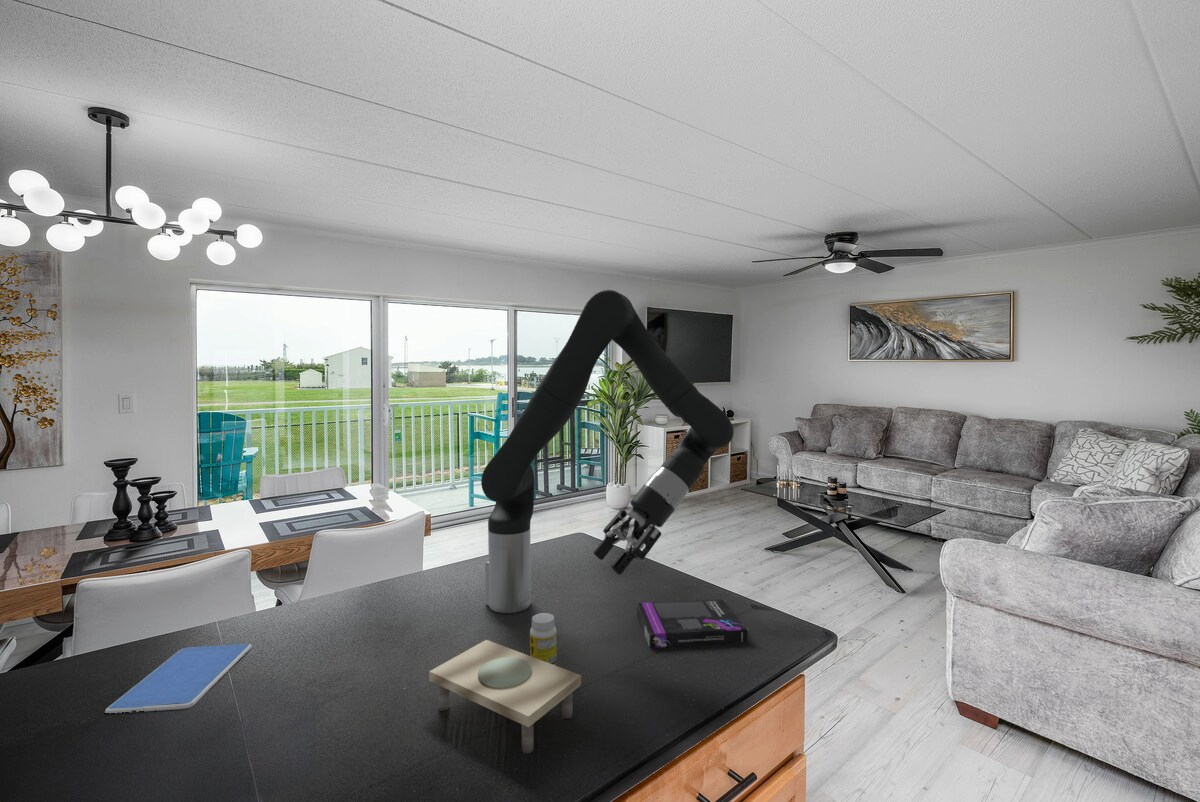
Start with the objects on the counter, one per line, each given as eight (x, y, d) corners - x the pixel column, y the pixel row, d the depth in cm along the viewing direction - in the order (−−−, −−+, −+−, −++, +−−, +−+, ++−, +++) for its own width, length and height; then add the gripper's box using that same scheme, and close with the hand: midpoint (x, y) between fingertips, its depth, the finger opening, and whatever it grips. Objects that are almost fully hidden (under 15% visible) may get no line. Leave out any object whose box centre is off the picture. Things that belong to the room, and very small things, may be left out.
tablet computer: (190, 712, 85) (190, 703, 85) (101, 718, 83) (100, 709, 83) (254, 649, 104) (253, 642, 104) (182, 653, 102) (181, 646, 102)
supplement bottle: (530, 657, 100) (530, 612, 99) (556, 656, 100) (556, 611, 100) (529, 671, 95) (529, 624, 95) (556, 670, 95) (556, 623, 95)
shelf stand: (429, 709, 84) (429, 668, 84) (486, 673, 94) (486, 637, 94) (528, 760, 73) (528, 713, 73) (581, 713, 83) (581, 672, 83)
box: (649, 652, 103) (749, 645, 105) (648, 634, 103) (749, 627, 105) (636, 618, 117) (725, 612, 119) (636, 602, 117) (725, 596, 119)
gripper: (631, 477, 111) (578, 541, 107) (665, 490, 97) (607, 563, 94) (654, 501, 113) (604, 564, 109) (691, 517, 100) (635, 589, 96)
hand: (605, 563), depth 101 cm, fingers open, 8 cm apart
